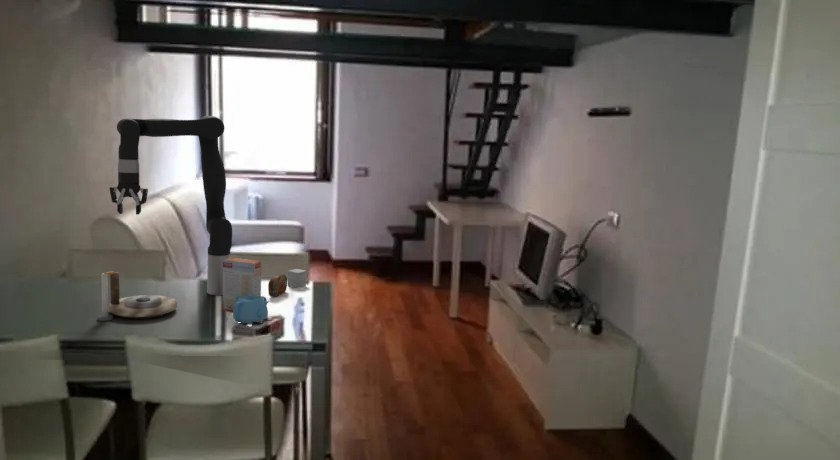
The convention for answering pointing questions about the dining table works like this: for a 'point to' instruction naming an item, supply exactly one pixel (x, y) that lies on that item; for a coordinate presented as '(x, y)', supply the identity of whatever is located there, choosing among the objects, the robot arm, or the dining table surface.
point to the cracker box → (240, 280)
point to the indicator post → (105, 298)
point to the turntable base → (142, 317)
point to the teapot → (250, 308)
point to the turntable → (138, 302)
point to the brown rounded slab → (277, 286)
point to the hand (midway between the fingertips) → (129, 213)
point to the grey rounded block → (296, 278)
